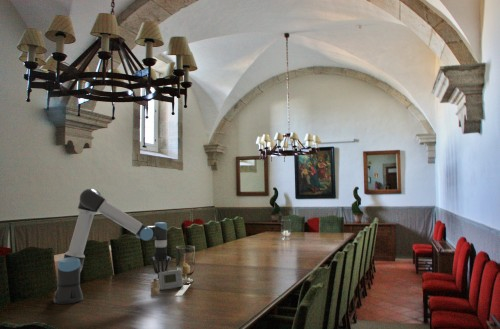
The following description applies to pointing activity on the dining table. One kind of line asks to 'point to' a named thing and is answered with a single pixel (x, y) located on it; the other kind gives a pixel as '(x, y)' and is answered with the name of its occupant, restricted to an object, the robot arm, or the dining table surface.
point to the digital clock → (170, 279)
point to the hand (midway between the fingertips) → (160, 284)
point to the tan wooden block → (154, 287)
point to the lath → (182, 290)
